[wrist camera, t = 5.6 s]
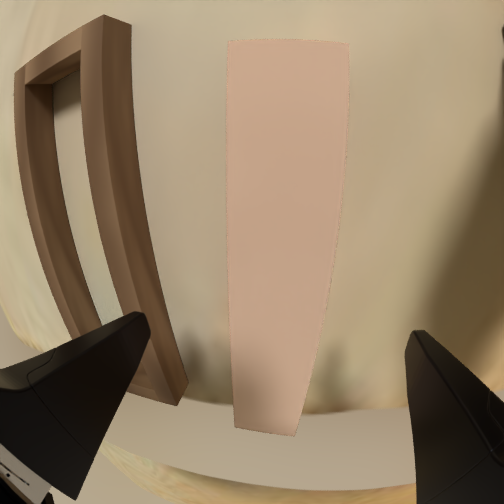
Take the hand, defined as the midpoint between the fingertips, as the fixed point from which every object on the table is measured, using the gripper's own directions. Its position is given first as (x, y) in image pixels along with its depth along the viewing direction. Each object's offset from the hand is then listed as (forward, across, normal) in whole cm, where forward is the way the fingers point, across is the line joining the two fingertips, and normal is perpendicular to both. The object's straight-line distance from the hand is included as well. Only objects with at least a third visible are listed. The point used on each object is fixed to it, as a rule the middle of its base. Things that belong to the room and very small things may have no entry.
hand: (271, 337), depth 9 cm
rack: (+6, +12, -1) cm, 14 cm away
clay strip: (+7, 0, 0) cm, 7 cm away
